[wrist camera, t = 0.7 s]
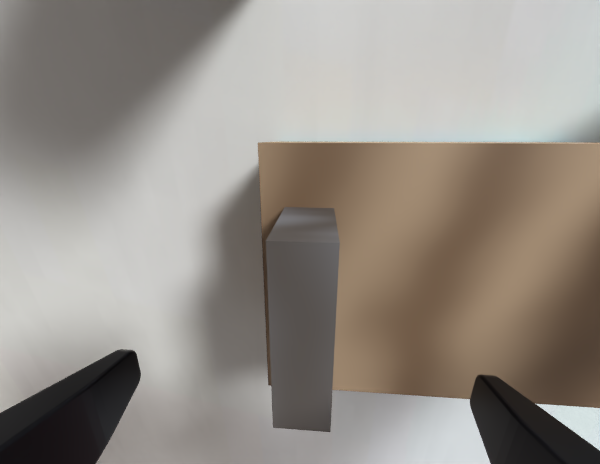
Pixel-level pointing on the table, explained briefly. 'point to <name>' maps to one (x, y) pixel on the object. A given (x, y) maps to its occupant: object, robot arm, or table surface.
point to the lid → (429, 271)
